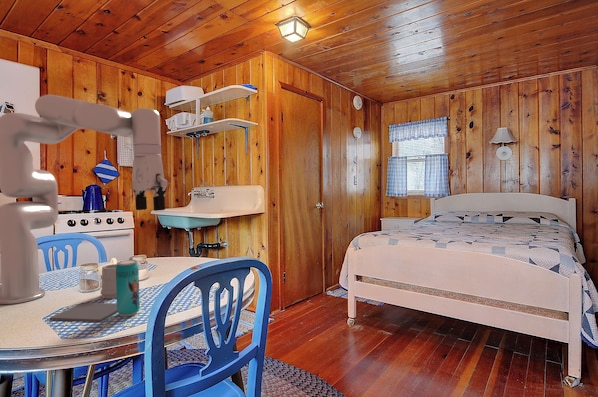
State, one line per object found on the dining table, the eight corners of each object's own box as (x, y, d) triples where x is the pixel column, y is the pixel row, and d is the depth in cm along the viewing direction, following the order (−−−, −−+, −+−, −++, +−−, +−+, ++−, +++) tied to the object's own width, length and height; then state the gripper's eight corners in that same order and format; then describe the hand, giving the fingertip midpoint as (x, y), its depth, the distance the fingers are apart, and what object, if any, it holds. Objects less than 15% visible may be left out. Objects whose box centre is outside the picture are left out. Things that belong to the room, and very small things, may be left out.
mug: (96, 295, 113) (95, 260, 112) (133, 287, 122) (132, 254, 121) (105, 300, 108) (104, 263, 107) (142, 291, 117) (141, 257, 116)
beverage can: (130, 318, 93) (128, 264, 93) (112, 317, 94) (110, 263, 94) (143, 310, 99) (142, 260, 98) (126, 309, 100) (125, 259, 99)
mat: (50, 319, 93) (50, 317, 93) (82, 304, 104) (82, 302, 104) (101, 321, 91) (100, 319, 91) (128, 306, 103) (128, 304, 103)
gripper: (120, 153, 101) (122, 210, 102) (151, 148, 91) (154, 211, 92) (144, 155, 108) (146, 208, 108) (176, 150, 97) (178, 209, 98)
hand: (150, 210), depth 100 cm, fingers open, 9 cm apart
